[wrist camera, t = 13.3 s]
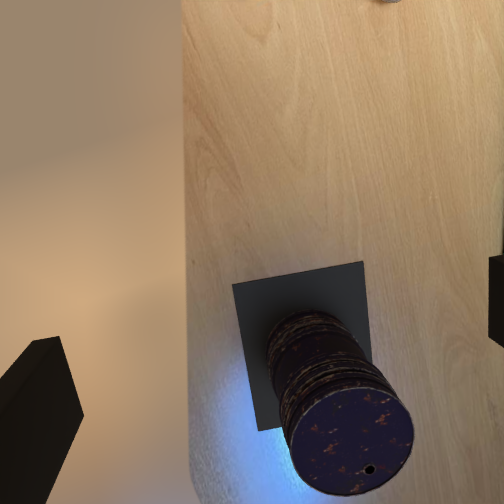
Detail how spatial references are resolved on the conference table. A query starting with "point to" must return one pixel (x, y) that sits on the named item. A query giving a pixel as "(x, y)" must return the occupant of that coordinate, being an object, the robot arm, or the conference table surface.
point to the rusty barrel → (335, 407)
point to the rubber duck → (391, 1)
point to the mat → (290, 301)
